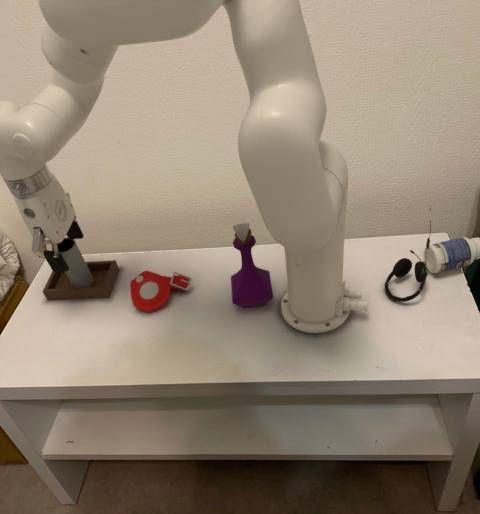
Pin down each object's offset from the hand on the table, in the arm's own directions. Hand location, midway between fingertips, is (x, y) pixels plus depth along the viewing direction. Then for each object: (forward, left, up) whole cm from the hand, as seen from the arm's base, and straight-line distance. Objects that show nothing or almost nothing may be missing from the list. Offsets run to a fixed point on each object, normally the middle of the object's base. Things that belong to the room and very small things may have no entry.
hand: (69, 253), depth 95 cm
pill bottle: (-68, -10, -6) cm, 69 cm away
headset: (-69, -18, +2) cm, 72 cm away
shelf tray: (0, 0, -9) cm, 9 cm away
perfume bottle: (-37, 0, -9) cm, 38 cm away
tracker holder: (-18, +1, -9) cm, 20 cm away
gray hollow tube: (0, 0, -8) cm, 8 cm away
